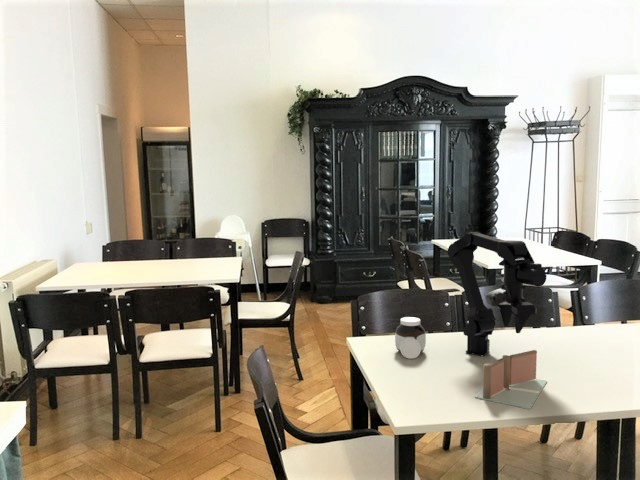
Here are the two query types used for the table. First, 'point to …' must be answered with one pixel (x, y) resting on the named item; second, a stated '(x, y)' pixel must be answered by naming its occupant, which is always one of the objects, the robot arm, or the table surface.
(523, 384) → the mat
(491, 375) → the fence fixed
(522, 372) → the swing panel
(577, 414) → the table surface
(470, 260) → the robot arm
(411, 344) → the spread jar
